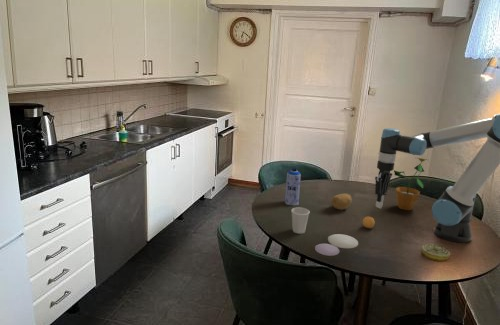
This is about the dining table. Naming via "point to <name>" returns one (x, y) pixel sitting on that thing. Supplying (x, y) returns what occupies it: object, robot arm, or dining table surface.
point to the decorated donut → (435, 252)
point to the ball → (368, 222)
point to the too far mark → (327, 249)
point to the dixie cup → (299, 219)
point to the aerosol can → (292, 187)
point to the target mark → (342, 241)
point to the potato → (341, 201)
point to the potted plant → (408, 190)
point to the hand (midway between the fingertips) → (378, 207)
